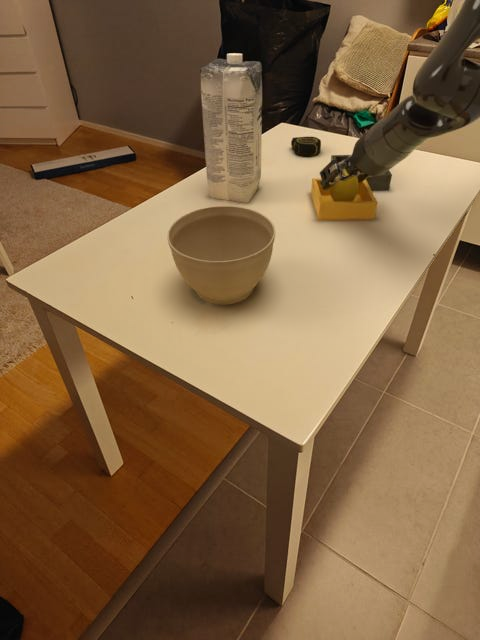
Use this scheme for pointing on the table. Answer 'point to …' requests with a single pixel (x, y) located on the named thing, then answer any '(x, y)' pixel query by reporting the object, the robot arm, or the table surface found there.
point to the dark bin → (375, 181)
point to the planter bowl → (222, 251)
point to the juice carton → (232, 127)
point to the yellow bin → (343, 203)
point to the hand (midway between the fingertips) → (340, 182)
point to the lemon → (344, 189)
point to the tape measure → (306, 146)
